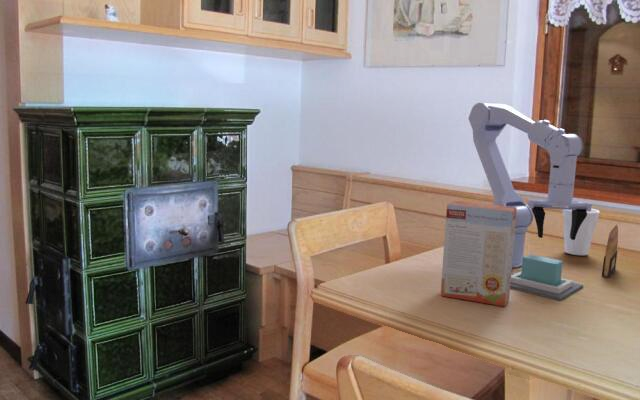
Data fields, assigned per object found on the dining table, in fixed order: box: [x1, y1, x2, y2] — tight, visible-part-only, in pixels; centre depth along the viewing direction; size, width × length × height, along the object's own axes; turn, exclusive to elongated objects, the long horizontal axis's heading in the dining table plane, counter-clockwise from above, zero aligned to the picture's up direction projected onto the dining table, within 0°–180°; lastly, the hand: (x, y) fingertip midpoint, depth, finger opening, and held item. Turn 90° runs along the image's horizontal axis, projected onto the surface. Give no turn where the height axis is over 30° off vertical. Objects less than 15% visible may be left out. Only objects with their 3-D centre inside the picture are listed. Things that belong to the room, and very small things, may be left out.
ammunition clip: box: [601, 224, 619, 279], centre depth 160 cm, size 11×2×12 cm, turn 148°
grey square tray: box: [510, 271, 584, 302], centre depth 147 cm, size 15×14×2 cm
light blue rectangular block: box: [520, 253, 564, 287], centre depth 146 cm, size 4×8×6 cm, turn 49°
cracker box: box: [440, 200, 517, 307], centre depth 134 cm, size 14×6×21 cm, turn 64°
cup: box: [561, 207, 600, 256], centre depth 178 cm, size 10×10×13 cm
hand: (556, 238), depth 153 cm, fingers open, 7 cm apart
